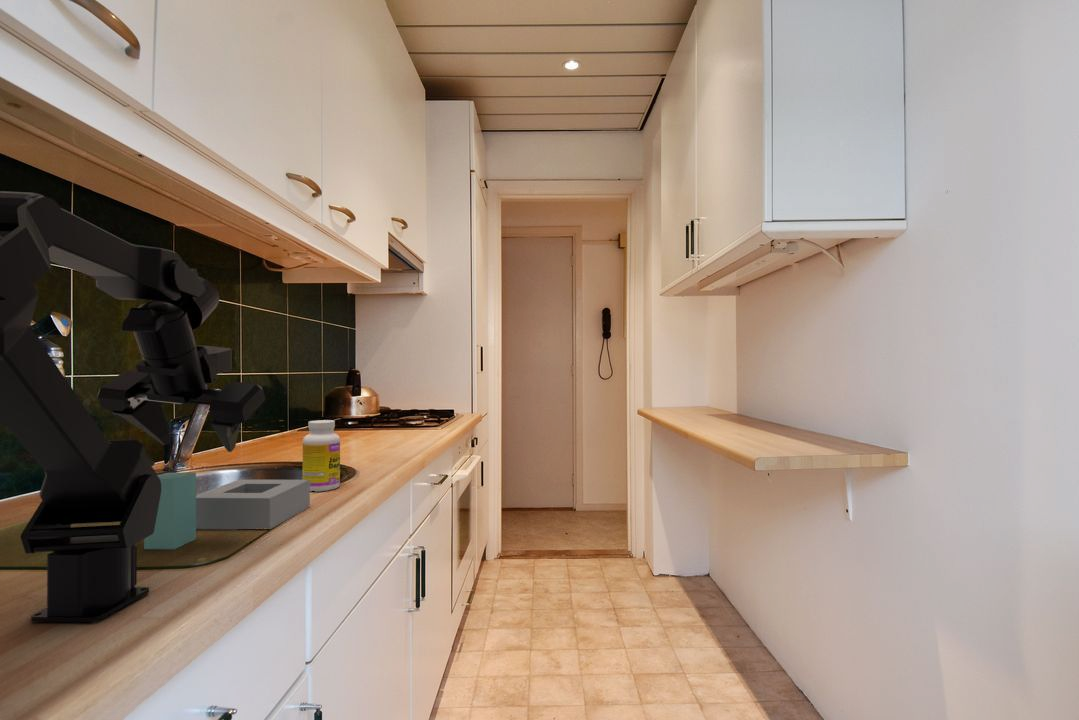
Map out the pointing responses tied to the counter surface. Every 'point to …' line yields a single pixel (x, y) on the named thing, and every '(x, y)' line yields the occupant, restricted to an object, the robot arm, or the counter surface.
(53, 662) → the counter surface
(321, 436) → the supplement bottle
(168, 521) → the teal block
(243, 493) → the well block
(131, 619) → the counter surface
